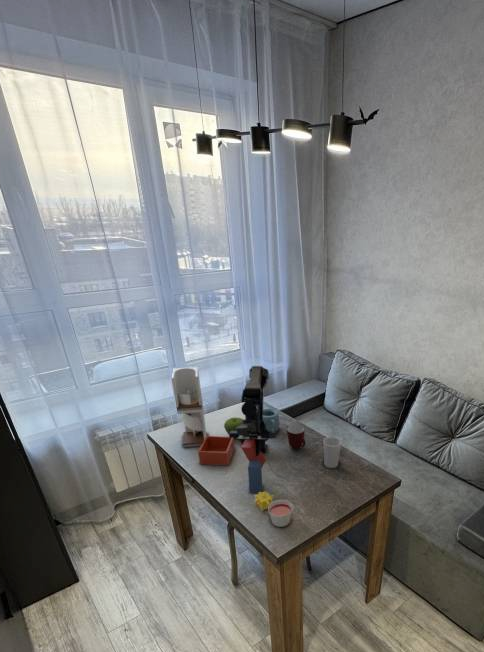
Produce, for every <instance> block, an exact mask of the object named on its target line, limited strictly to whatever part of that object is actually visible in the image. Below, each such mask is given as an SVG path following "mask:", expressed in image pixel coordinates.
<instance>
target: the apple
mask: <svg viewBox="0 0 484 652" xmlns="http://www.w3.org/2000/svg"><path fill="white" fill-rule="evenodd" d="M243 420H245V418H242V417H238V416H237V417H230V418H228V419H226V420H225V422H224V424H223V428H224V430H225V432H226V433H227V434H228V435H229V433H230V432H231V431H237V429H236V427H238V426H240V425H242V424H243ZM236 439H238V437H237V438H236Z"/></svg>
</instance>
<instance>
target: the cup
mask: <svg viewBox="0 0 484 652" xmlns="http://www.w3.org/2000/svg"><path fill="white" fill-rule="evenodd" d="M322 441H323V459H324V460H323V461H324V463H323V465H324V466H325V467H327V468H328V469H329V468H330V469H335V468H337V467H338V466H339V460H340V459H339V458H340V453H341V448H342V439H341V438H339V437H336V436H328V437H327V436H326V437H325V438H324V439H323V440H322Z"/></svg>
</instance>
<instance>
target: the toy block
mask: <svg viewBox="0 0 484 652" xmlns="http://www.w3.org/2000/svg"><path fill="white" fill-rule="evenodd" d="M254 497H255V499H254V505H255V506H257V507H258V508H259V509H260V510H261V511H264V510H268V507H269V505H270V504H271V503H272V502H273V498H274V497H275V495H274V494H271V495H270V494H269V493H268V491H267V490H265V491H261V492H258V493H256V494H255V495H254Z"/></svg>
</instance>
